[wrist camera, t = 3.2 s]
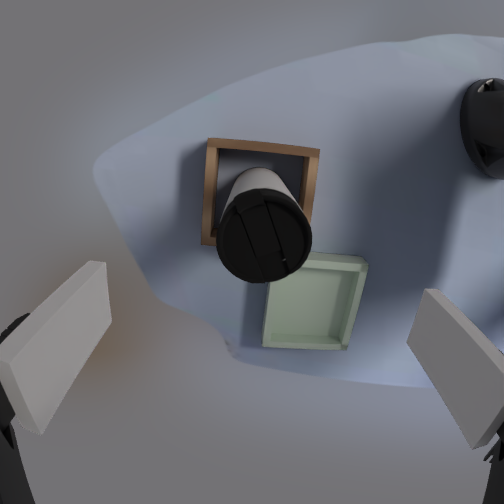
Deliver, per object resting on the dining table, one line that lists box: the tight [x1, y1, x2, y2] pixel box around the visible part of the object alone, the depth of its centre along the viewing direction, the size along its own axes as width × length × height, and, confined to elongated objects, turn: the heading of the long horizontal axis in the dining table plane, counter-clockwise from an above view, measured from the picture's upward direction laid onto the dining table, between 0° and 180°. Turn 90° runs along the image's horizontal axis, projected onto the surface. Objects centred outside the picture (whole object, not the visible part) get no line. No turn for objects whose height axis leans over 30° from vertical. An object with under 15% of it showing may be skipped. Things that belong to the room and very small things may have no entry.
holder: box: [201, 138, 320, 246], centre depth 37 cm, size 12×12×4 cm
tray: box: [261, 252, 369, 350], centre depth 42 cm, size 13×12×3 cm
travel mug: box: [216, 167, 312, 283], centre depth 29 cm, size 6×7×20 cm
